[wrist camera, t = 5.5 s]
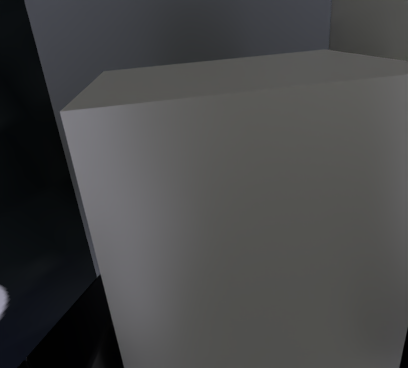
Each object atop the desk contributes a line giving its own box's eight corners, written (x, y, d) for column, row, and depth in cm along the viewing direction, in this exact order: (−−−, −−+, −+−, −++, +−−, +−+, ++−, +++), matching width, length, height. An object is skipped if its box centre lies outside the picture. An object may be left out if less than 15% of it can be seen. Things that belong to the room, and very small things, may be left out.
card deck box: (326, 49, 8) (469, 67, 4) (309, 334, 12) (379, 474, 8) (101, 71, 8) (54, 113, 4) (157, 360, 11) (159, 519, 8)
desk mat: (312, 255, 19) (315, 259, 18) (102, 286, 18) (101, 292, 18) (328, -28, 13) (333, -30, 13) (26, -4, 12) (23, -4, 12)
